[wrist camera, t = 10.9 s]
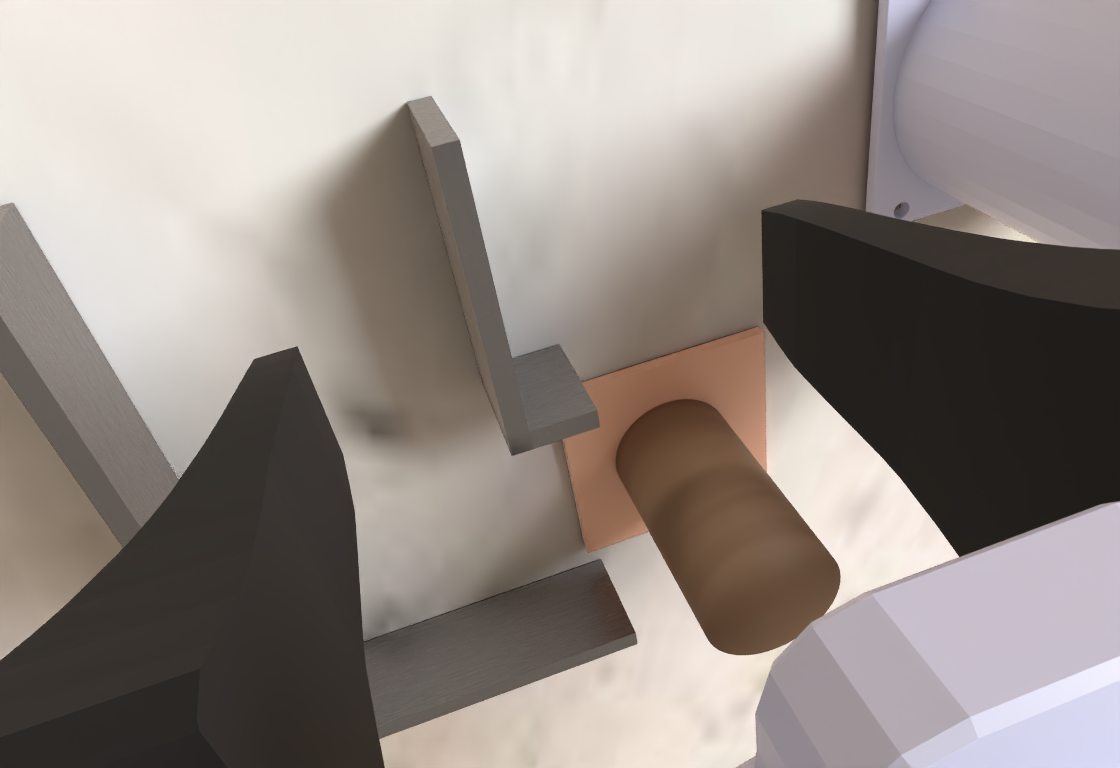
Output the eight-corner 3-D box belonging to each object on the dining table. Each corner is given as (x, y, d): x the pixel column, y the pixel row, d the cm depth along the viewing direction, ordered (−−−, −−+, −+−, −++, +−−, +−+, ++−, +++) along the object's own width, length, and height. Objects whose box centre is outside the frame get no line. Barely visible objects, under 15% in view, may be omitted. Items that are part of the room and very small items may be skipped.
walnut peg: (737, 462, 29) (850, 611, 23) (636, 513, 29) (723, 675, 23) (710, 379, 27) (828, 523, 21) (599, 434, 27) (687, 594, 21)
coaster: (758, 326, 27) (764, 332, 26) (761, 483, 31) (766, 490, 30) (552, 391, 26) (555, 398, 25) (584, 545, 30) (587, 552, 29)
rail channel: (507, 76, 20) (547, 116, 17) (603, 569, 31) (637, 643, 28) (-15, 210, 18) (-65, 278, 15) (279, 683, 29) (281, 775, 26)
